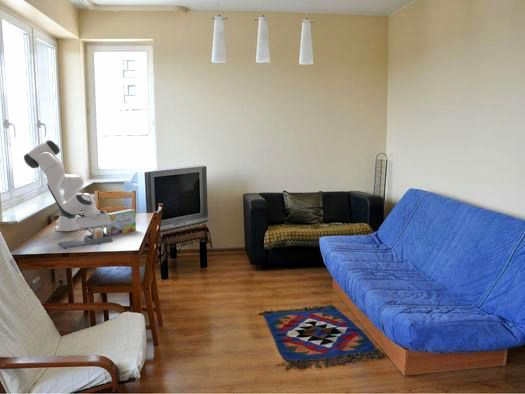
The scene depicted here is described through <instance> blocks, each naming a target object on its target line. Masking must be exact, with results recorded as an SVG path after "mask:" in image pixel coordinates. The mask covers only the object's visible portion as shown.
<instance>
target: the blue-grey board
mask: <svg viewBox="0 0 525 394" xmlns="http://www.w3.org/2000/svg"><path fill="white" fill-rule="evenodd" d="M57 245H59V246H60V247H61V248H62V249H64V250H67V249H68V248H69V249H70V248H74V247H75V248H77V247H79V246H80V247H81V246H86V242H83V241H82V240H81V239H78V238H77V239H73V240H72V239H71V240H64V241H59V242H58V243H57Z"/></svg>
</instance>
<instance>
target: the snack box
mask: <svg viewBox="0 0 525 394" xmlns="http://www.w3.org/2000/svg"><path fill="white" fill-rule="evenodd" d="M107 215H108V216H109V217H110V219H111V221H112V225H111V226H110V227H105V230H106V231H105V233H107V234H108V235H110V236H112V237H113V236H116V235H120V234H126V233H127V234H128V233H131V232H135V231H137V223H136V222H137V221H136V220H137V218H136V209H133V208H128V209H123V210H117V211H114V212H107Z"/></svg>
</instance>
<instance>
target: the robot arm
mask: <svg viewBox="0 0 525 394" xmlns="http://www.w3.org/2000/svg"><path fill="white" fill-rule="evenodd" d="M60 149H61V148H60V146H59V144H58V143H57V142H56V141H55V140H52V139H48V140H45V142H42V143H40V144H38V145H36V147H34V148H33V149H31V150H29V152H27V153H26V154H25V155H24V156H23V160H24V162H25V164H26V166H28V167H30V168H31V169H38V168H40V169H41V171H42V172H43V173H44V176H45V177H46V179H47V183H46V185H47V189H48V191H49V192H50V195H52V197H53V199H54V201H55V203H56V204H57V207H58V209H59V218H58V219H57V220H56V221H55V223H56V226H55V232H71V231H80V232H83V231H88V232H89V233H90V235H94V231H93V228H98V227H100V228H102V233H105V230H104V229H106V227H110V226H111V225H112V221H111V219H110V217H109V216H108V215H107V213H108V212H107V211H106V210H102V209H100V210H99V209H98V208H97V204H96V201H95V199H94V196H92V194H91V193H88V192H85V193H82V192H80V191H81V189H83V187H84V179H83V177H82V176H80V175H78V174H70V173H69V174H68V173H66V170H65V165H64V164H63V163H62V162H61V160H60V159H59V158H58V154H59V153H60V151H61V150H60ZM61 191H63V194H62V192H61ZM81 211H83V216H81V215H79V212H81Z"/></svg>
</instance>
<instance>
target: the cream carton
mask: <svg viewBox="0 0 525 394" xmlns="http://www.w3.org/2000/svg"><path fill="white" fill-rule="evenodd" d="M92 231H94V235H93V239H97V238H103V234H102V228H100V227H98V228H93V229H92Z"/></svg>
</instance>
